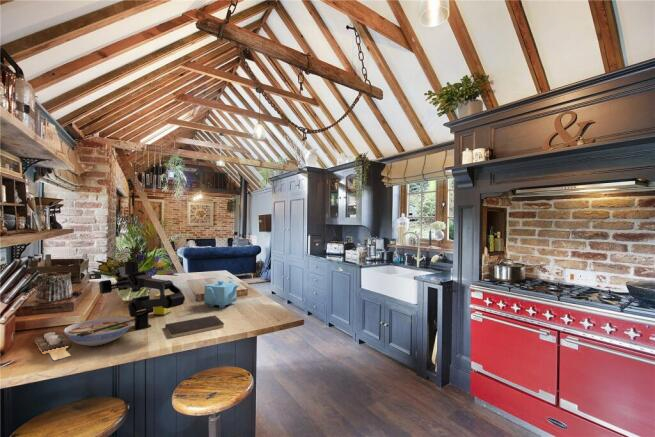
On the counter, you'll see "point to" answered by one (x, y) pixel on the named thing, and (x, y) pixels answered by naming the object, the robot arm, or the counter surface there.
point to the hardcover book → (193, 326)
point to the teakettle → (220, 293)
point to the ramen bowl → (97, 330)
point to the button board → (45, 347)
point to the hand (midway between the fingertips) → (112, 285)
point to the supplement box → (161, 310)
